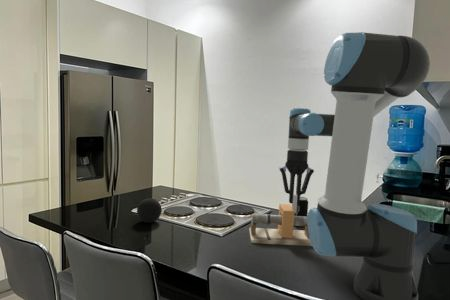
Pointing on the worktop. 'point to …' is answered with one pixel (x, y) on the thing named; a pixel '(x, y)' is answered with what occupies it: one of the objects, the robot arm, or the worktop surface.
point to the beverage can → (302, 208)
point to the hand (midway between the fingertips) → (293, 211)
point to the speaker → (149, 210)
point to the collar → (286, 220)
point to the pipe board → (274, 235)
